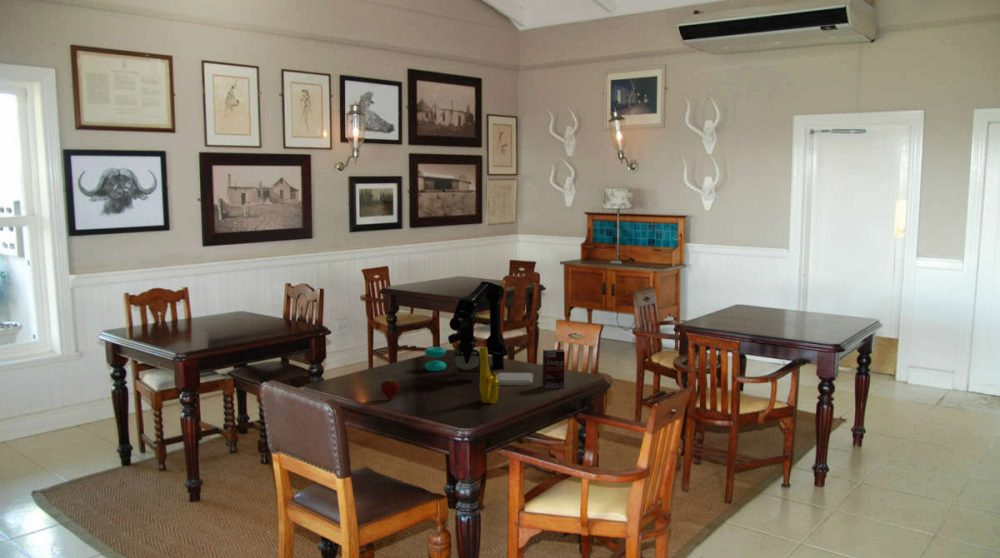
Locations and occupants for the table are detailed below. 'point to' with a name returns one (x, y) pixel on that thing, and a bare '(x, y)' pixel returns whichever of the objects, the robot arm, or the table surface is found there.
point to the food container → (469, 367)
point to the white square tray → (515, 378)
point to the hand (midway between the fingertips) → (467, 361)
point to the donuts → (435, 353)
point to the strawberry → (390, 388)
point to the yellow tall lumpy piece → (487, 379)
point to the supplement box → (553, 368)
